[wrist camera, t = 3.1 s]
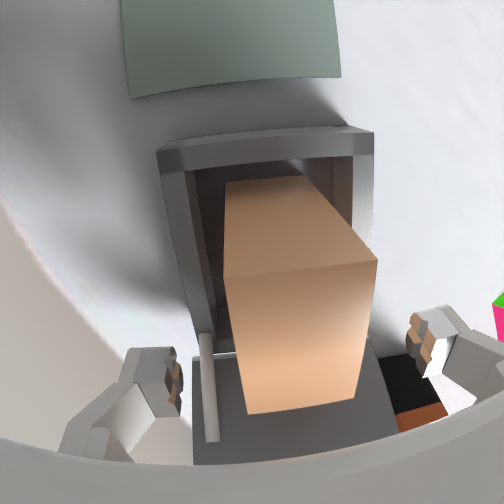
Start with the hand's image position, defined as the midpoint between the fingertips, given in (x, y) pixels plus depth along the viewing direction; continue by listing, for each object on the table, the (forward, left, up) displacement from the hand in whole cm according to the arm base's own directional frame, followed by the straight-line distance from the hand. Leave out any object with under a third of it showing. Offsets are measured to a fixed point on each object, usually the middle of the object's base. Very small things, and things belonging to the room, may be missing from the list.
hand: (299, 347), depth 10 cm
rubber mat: (-13, -1, -8) cm, 16 cm away
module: (0, 0, -8) cm, 8 cm away
